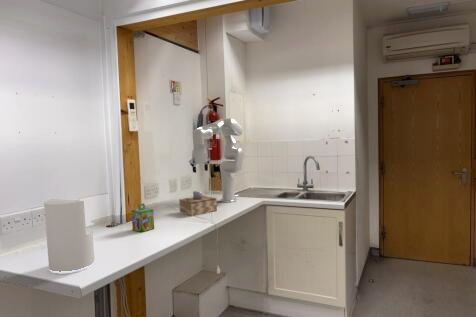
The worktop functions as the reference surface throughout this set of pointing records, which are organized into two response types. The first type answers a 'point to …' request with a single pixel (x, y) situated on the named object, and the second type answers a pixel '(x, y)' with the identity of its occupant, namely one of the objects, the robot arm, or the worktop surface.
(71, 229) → the cylinder
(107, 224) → the worktop surface
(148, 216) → the green lunch box
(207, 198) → the lid
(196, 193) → the grey knob post
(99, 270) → the worktop surface
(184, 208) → the storage box
